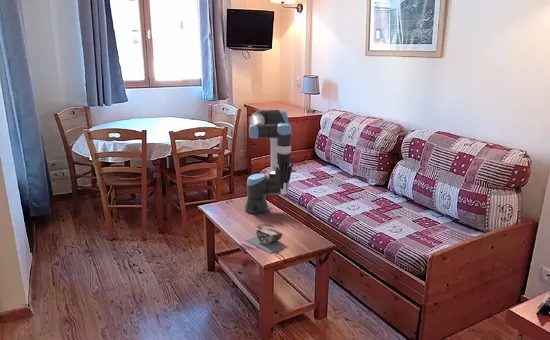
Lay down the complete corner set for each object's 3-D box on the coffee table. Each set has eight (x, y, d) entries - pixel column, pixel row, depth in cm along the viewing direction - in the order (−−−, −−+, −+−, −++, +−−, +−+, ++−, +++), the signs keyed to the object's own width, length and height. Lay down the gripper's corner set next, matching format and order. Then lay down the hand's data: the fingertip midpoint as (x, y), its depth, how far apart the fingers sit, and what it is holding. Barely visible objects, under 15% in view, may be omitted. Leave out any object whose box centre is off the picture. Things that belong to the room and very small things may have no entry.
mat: (261, 235, 247) (261, 234, 246) (285, 247, 232) (285, 246, 232) (246, 240, 239) (246, 240, 239) (270, 253, 225) (270, 253, 225)
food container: (268, 238, 246) (254, 240, 239) (269, 228, 245) (255, 229, 238) (282, 245, 236) (268, 247, 230) (284, 234, 236) (270, 235, 229)
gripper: (287, 149, 241) (287, 189, 248) (270, 153, 232) (270, 194, 239) (297, 152, 235) (296, 193, 242) (279, 156, 227) (279, 198, 234)
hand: (283, 193), depth 241 cm, fingers closed
